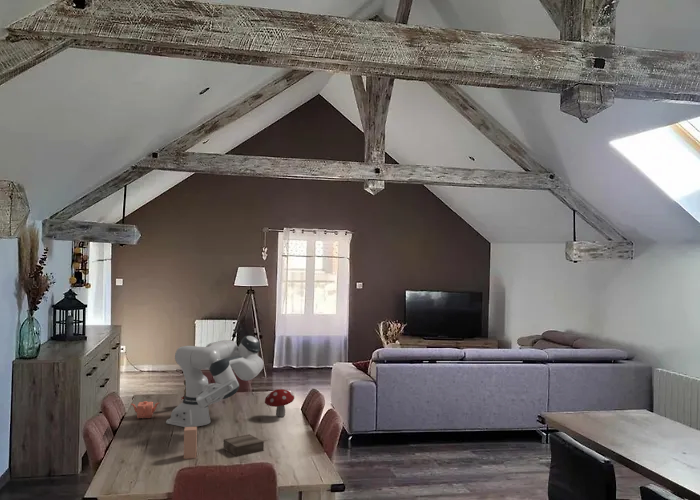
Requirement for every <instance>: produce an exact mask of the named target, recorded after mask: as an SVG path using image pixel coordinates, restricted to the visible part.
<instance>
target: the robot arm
mask: <svg viewBox="0 0 700 500" xmlns="http://www.w3.org/2000/svg"><path fill="white" fill-rule="evenodd" d="M260 344H261V343H260V341H259V339H258V338H257V337H255V336H253V335H245V336H243V338H242V339H241V340H240V344H239V345H238V344H237V343H236V342H235V341H234V340H231V339H230V340H227V339H224V340H219V341H218V340H217V341H214V342H211V343H208V344H207V345H206V346H197V345H183V346H180V347H178V348H177V349H176V351H175V354H174V361H175V362H176V364H177V365H178V366H179V367H180V369H181V370H182V373H183V377H184V379H185V381H186V386H185V387H186V395H185V396H184V395H183V396H181V397H180V399H181V400H182V402H181V403H180V404H178V405H176V407H175V408H173V409H172V411H171V413H170V414H171V415H170V418H168V419H166V421H165V424H168V425H173V426H177V427H182V428H185V427H200V426H201V427H202V426H206V425H209V424H210V423H211V422H212V421H211V418H210V411H209V406H210V405H213V404H216V403H219V402H221V401H222V400H226V399H228V398H230V397H232V396H234V395H235V394H237V393H238V391H239V388H240V383H239V381H238V379H240V380H242V381H251V380H253V379H254V378H256V377H257V376H258V375H260V373H261V372H262V370H263V368H264V360H263V359H262V357H260V356H259V355H258V354H259V352H260V349H261V348H260V347H261V346H260ZM202 370H209V372H210V374H211V376H212V377H213V380H214V382H213V383H212V382H210V383H209V379H208V377H207V376H206V375H205V374H204V373H203V372H202ZM236 376H237V377H236ZM237 378H238V379H237Z"/></svg>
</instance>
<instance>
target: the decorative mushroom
mask: <svg viewBox="0 0 700 500" xmlns="http://www.w3.org/2000/svg"><path fill="white" fill-rule="evenodd" d="M294 400H295V395H294V394H293V393H292V392H291V391H289V390H287V389H283V388H277V389H274V390H272V391H271V392H269V393H268V394H267V395H266V396H265V398H264V403H265V404H266V405H267V406H268V407H274V408H275V407H276V409H275V416H276V417H284V416H286V408H285V406H287V405H289V404H291V403H293V401H294Z"/></svg>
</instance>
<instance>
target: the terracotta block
mask: <svg viewBox="0 0 700 500" xmlns="http://www.w3.org/2000/svg"><path fill="white" fill-rule="evenodd" d="M183 432H184V433H183V459H184V460H186V459H187V460H188V459H196V458H197V453H198V451H197V450H198V448H197V447H198V445H197V444H198V439H197V437H198V435H197V434H198V426H194V427H184V430H183Z"/></svg>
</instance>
